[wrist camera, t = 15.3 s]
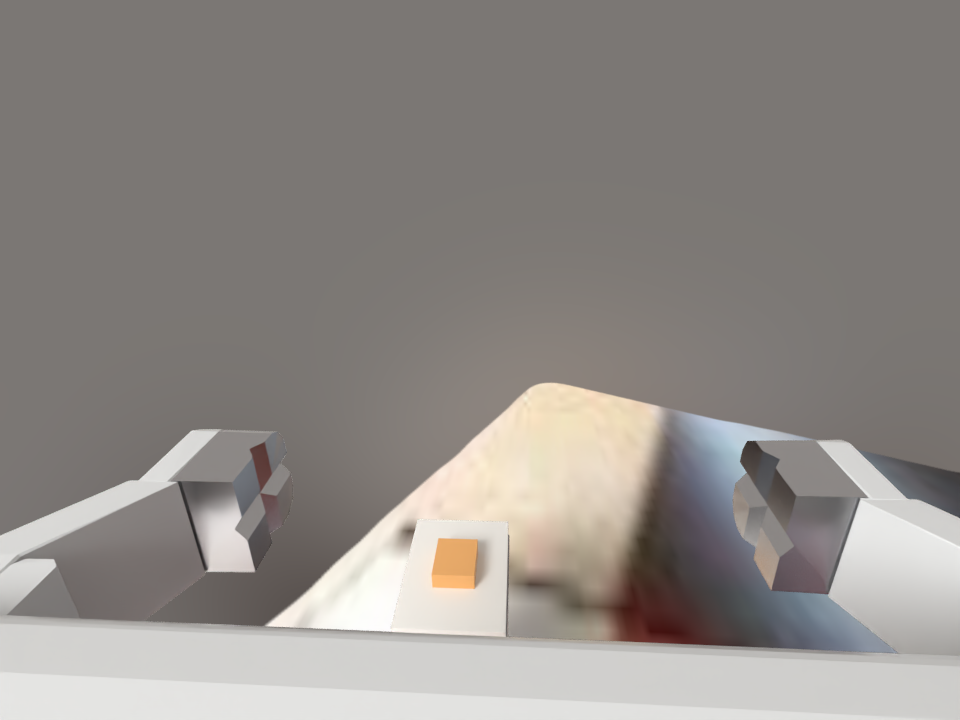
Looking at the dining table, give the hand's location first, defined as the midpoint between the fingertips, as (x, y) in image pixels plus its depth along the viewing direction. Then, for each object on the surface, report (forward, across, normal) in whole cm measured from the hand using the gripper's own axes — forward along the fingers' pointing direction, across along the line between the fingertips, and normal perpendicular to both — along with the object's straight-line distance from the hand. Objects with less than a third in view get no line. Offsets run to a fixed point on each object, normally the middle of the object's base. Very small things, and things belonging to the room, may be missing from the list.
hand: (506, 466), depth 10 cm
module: (+12, +3, +28) cm, 31 cm away
